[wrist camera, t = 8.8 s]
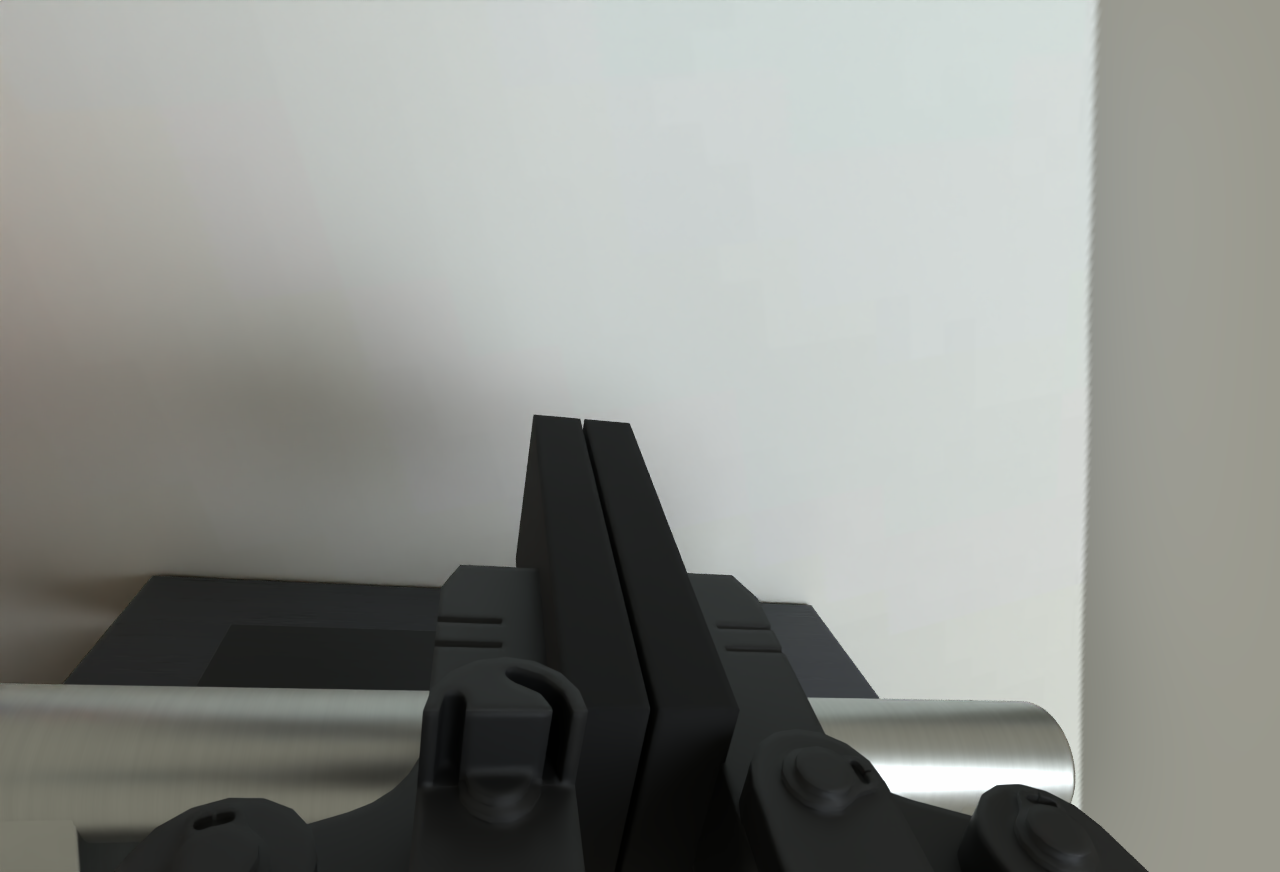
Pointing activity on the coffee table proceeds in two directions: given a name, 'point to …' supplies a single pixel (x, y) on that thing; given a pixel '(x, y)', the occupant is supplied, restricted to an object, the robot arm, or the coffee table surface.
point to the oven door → (371, 717)
